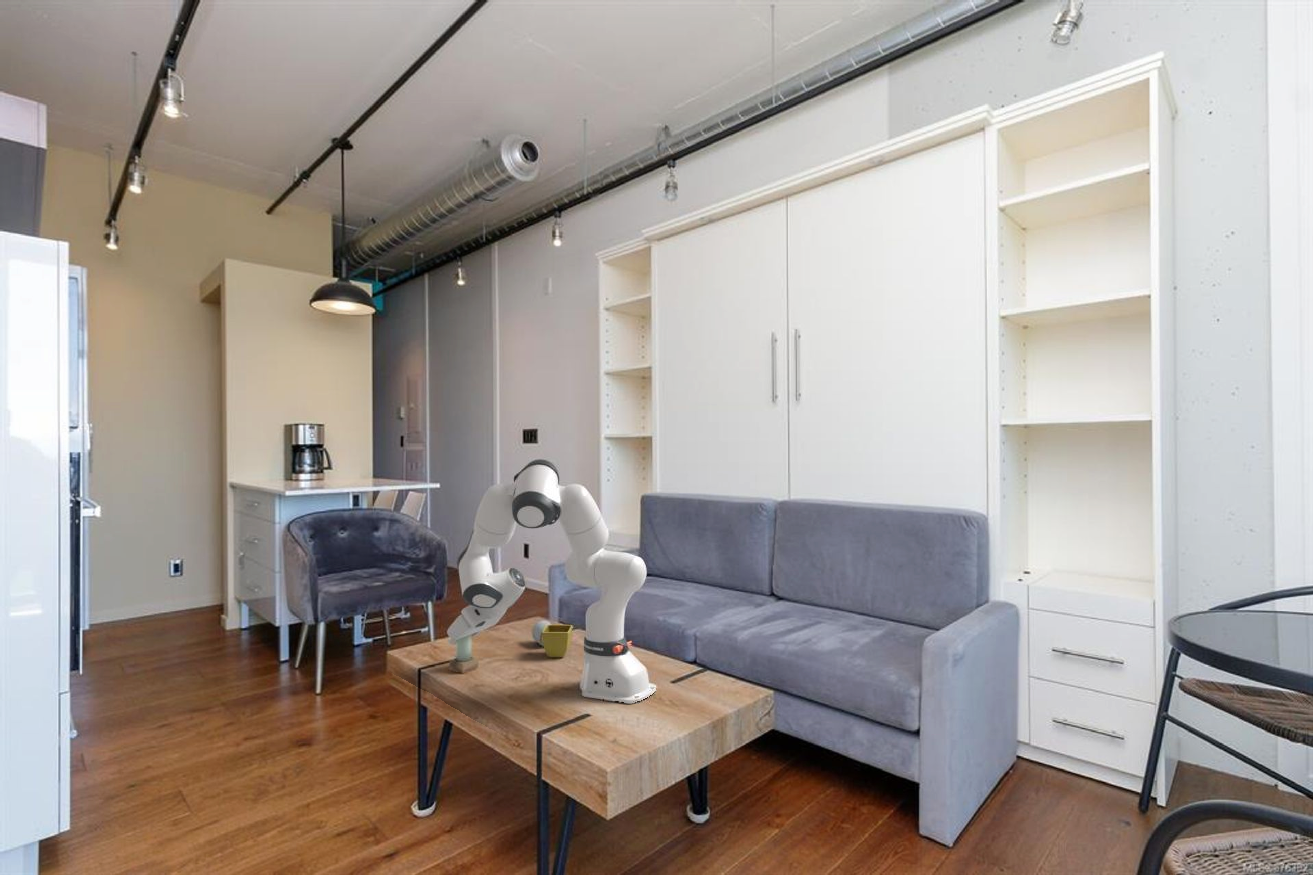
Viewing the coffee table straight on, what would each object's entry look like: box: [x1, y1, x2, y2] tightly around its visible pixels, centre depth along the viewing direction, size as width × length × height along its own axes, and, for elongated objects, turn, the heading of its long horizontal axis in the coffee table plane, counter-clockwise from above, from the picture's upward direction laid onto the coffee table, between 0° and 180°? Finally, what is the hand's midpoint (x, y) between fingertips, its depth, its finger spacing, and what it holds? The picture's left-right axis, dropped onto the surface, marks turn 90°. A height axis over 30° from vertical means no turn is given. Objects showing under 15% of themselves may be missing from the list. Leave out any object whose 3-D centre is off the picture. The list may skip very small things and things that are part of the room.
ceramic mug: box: [531, 620, 552, 647], centre depth 226 cm, size 11×8×8 cm
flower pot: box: [542, 624, 573, 658], centre depth 214 cm, size 9×9×9 cm
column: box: [455, 635, 472, 661], centre depth 200 cm, size 4×4×11 cm
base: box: [448, 656, 479, 674], centre depth 200 cm, size 6×6×3 cm
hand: (462, 638), depth 200 cm, fingers open, 8 cm apart
